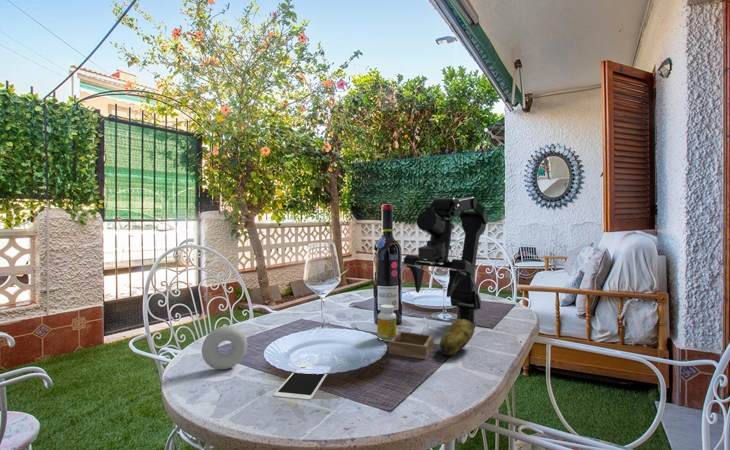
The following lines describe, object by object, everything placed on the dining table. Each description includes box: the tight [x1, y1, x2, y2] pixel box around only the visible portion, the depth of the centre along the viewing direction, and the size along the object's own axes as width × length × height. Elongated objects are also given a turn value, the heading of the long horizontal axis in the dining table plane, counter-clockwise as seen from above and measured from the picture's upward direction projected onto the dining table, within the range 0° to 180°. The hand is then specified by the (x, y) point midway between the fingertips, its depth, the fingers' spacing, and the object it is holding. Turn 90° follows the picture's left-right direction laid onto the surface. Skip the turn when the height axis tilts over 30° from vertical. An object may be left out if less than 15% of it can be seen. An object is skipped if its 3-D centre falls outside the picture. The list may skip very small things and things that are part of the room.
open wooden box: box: [388, 330, 434, 360], centre depth 99 cm, size 10×10×3 cm
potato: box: [439, 318, 475, 357], centre depth 99 cm, size 8×13×8 cm, turn 122°
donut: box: [201, 325, 249, 370], centre depth 85 cm, size 10×4×10 cm, turn 118°
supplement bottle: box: [376, 304, 397, 343], centre depth 108 cm, size 5×5×10 cm
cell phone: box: [273, 363, 328, 401], centre depth 80 cm, size 8×16×1 cm, turn 170°
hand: (432, 294), depth 102 cm, fingers open, 9 cm apart
